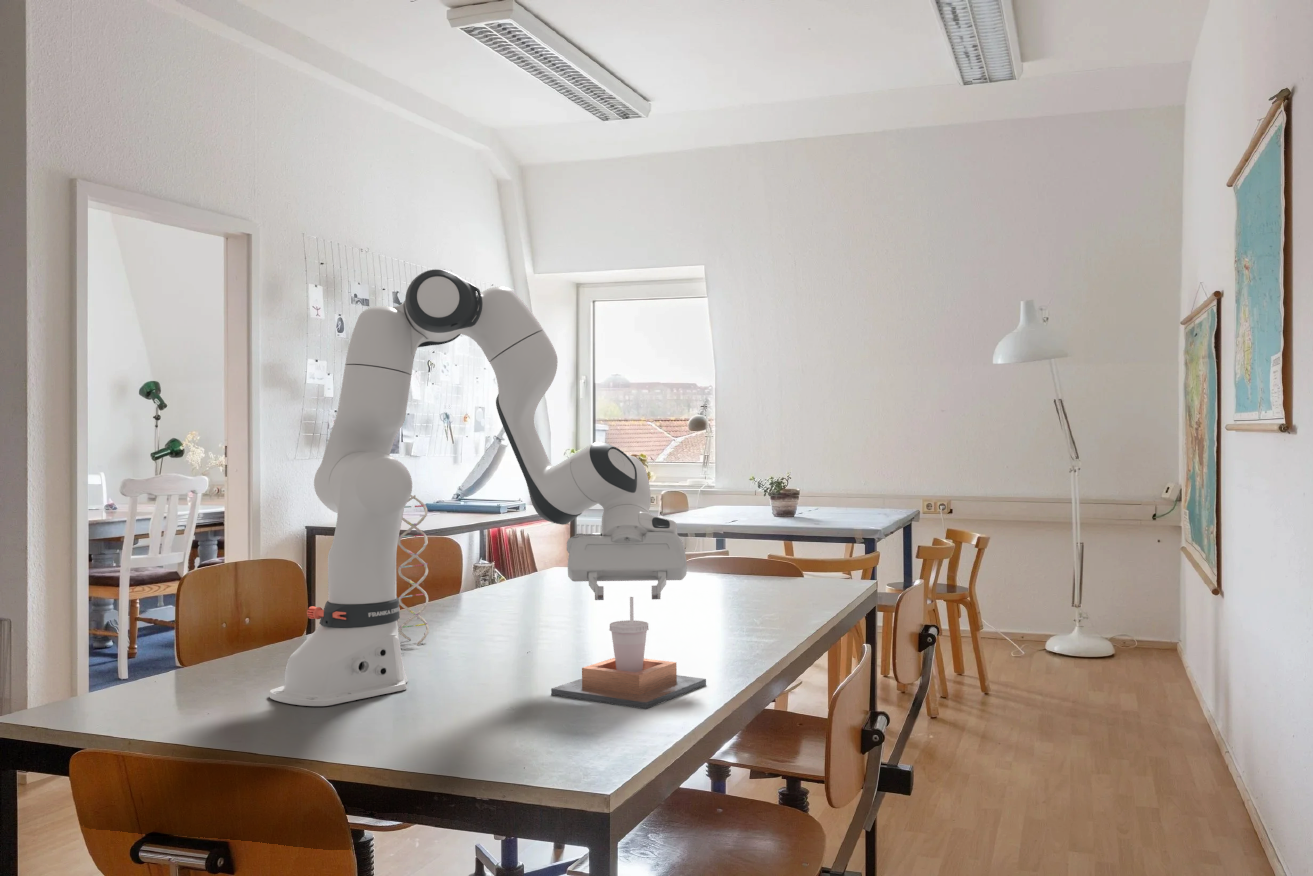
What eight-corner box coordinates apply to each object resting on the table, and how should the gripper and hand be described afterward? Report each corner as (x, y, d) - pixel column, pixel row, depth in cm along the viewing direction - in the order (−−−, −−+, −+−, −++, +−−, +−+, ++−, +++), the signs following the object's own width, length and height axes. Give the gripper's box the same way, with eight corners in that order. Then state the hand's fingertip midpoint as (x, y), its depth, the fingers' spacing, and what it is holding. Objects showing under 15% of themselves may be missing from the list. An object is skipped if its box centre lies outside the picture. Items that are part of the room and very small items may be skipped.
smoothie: (635, 689, 166) (634, 600, 166) (602, 685, 169) (601, 598, 169) (656, 681, 171) (655, 595, 171) (623, 677, 174) (623, 593, 174)
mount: (645, 709, 157) (645, 682, 157) (551, 694, 167) (551, 669, 167) (706, 685, 172) (705, 660, 173) (616, 673, 182) (615, 650, 182)
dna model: (433, 643, 211) (432, 494, 211) (401, 646, 208) (400, 495, 209) (425, 638, 217) (424, 493, 217) (394, 641, 214) (392, 494, 215)
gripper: (566, 522, 181) (563, 586, 171) (684, 521, 182) (689, 585, 172) (567, 546, 185) (565, 610, 176) (683, 544, 186) (687, 608, 176)
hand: (627, 597), depth 174 cm, fingers open, 8 cm apart
